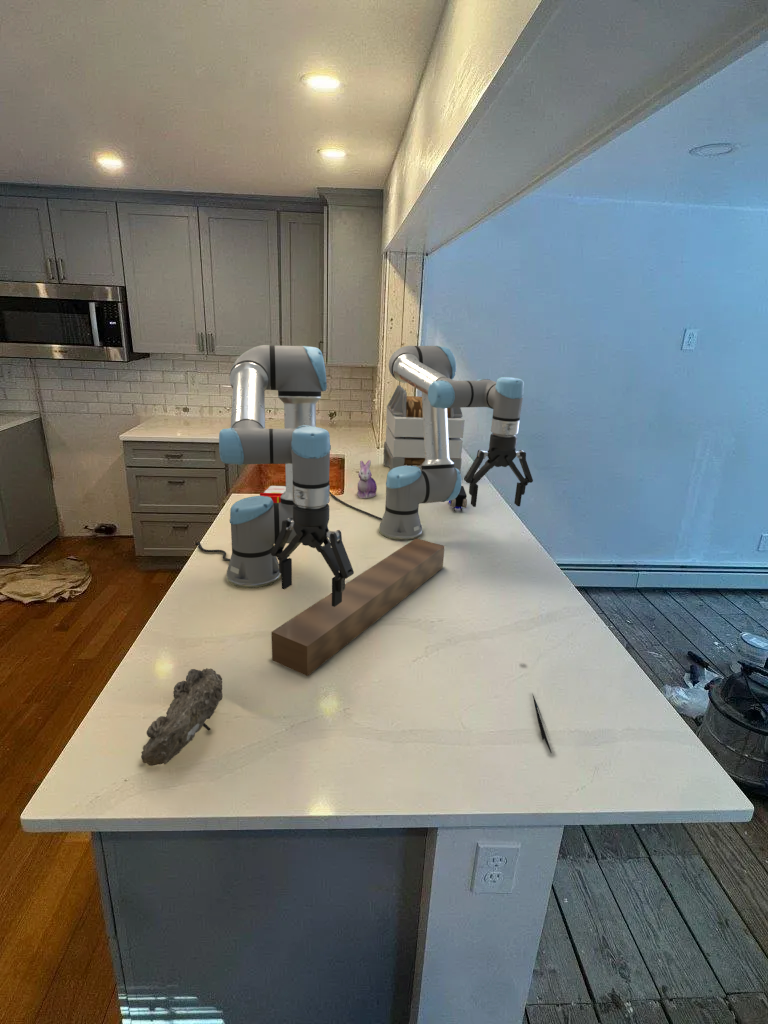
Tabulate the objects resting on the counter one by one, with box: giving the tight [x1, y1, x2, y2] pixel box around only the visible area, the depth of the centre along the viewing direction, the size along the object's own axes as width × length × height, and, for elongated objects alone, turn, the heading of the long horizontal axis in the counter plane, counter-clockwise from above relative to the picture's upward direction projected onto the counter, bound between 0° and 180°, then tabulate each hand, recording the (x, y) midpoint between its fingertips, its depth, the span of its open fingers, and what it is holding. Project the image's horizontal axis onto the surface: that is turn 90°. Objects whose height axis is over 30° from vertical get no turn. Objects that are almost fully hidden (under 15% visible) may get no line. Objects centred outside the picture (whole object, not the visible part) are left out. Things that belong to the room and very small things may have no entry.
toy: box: [259, 485, 286, 503], centre depth 208 cm, size 12×13×30 cm
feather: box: [522, 663, 555, 753], centre depth 115 cm, size 2×28×2 cm
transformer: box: [383, 384, 465, 475], centre depth 268 cm, size 34×33×41 cm
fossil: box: [140, 667, 224, 767], centre depth 103 cm, size 22×10×15 cm
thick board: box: [270, 538, 446, 677], centre depth 149 cm, size 66×10×7 cm, turn 149°
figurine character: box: [448, 485, 468, 512], centre depth 228 cm, size 7×8×15 cm
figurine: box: [356, 459, 378, 499], centre depth 236 cm, size 9×10×15 cm
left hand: (311, 595), depth 124 cm, fingers open, 13 cm apart
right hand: (495, 505), depth 167 cm, fingers open, 13 cm apart
